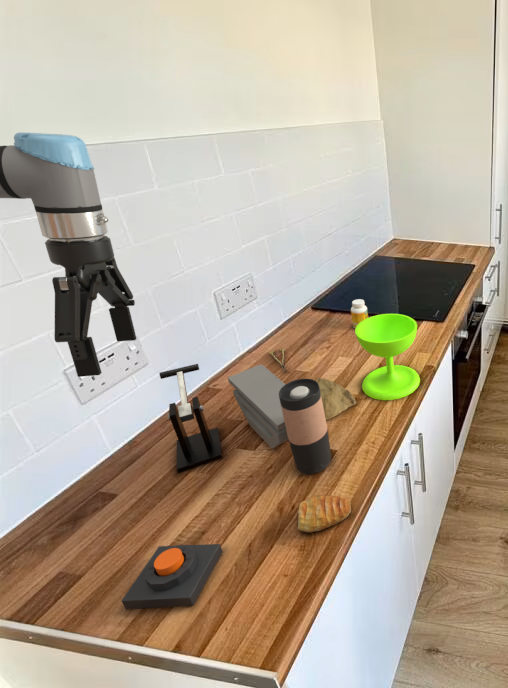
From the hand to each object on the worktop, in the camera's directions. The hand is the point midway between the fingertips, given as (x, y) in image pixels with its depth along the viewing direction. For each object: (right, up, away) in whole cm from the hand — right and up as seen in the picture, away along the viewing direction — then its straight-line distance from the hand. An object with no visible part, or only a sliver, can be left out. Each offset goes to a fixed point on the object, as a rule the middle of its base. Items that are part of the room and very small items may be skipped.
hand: (109, 356), depth 76 cm
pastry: (+34, -32, +8) cm, 48 cm away
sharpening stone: (+14, -21, +28) cm, 38 cm away
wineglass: (+37, -13, +47) cm, 61 cm away
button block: (+15, -37, -4) cm, 40 cm away
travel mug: (+27, -26, +20) cm, 42 cm away
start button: (+15, -34, -6) cm, 37 cm away
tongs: (+2, -8, +53) cm, 54 cm away
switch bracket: (+1, -24, +21) cm, 32 cm away
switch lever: (-1, -11, +19) cm, 22 cm away
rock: (+26, -19, +35) cm, 47 cm away
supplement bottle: (+18, +1, +75) cm, 77 cm away
